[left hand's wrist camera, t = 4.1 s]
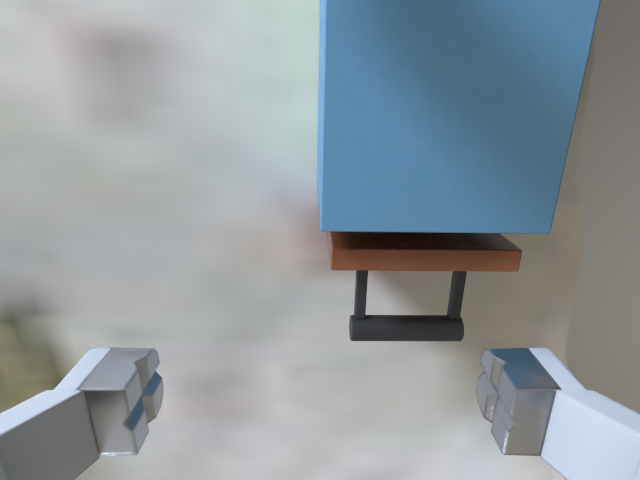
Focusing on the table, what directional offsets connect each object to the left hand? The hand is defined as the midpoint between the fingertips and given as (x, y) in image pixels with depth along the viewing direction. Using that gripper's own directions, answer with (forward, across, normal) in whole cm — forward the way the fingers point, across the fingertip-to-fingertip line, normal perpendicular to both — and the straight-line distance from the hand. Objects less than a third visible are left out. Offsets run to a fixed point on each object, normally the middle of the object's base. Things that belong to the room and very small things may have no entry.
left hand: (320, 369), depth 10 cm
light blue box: (+19, -5, -10) cm, 22 cm away
